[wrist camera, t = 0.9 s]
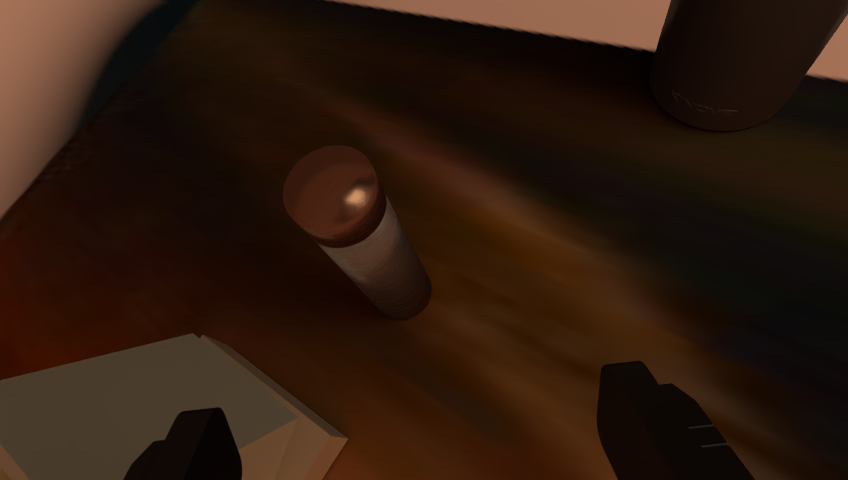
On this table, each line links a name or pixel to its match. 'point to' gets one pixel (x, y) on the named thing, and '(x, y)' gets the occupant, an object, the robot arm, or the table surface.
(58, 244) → the table surface
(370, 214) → the peg
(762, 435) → the table surface
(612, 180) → the table surface
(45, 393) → the socket
